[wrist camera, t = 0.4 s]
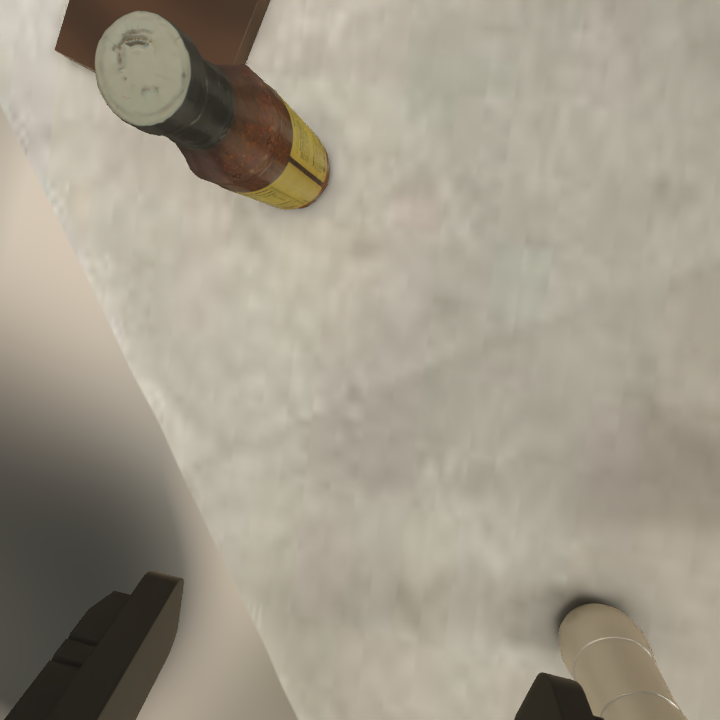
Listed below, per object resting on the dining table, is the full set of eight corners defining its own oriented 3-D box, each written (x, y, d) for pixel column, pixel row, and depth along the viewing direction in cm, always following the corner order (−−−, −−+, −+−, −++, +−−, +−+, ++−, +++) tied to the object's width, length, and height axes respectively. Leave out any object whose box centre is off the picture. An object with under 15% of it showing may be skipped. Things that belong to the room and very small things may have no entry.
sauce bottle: (277, 115, 36) (103, -80, 16) (346, 154, 35) (252, 2, 16) (242, 193, 37) (43, 99, 18) (308, 230, 37) (179, 176, 17)
